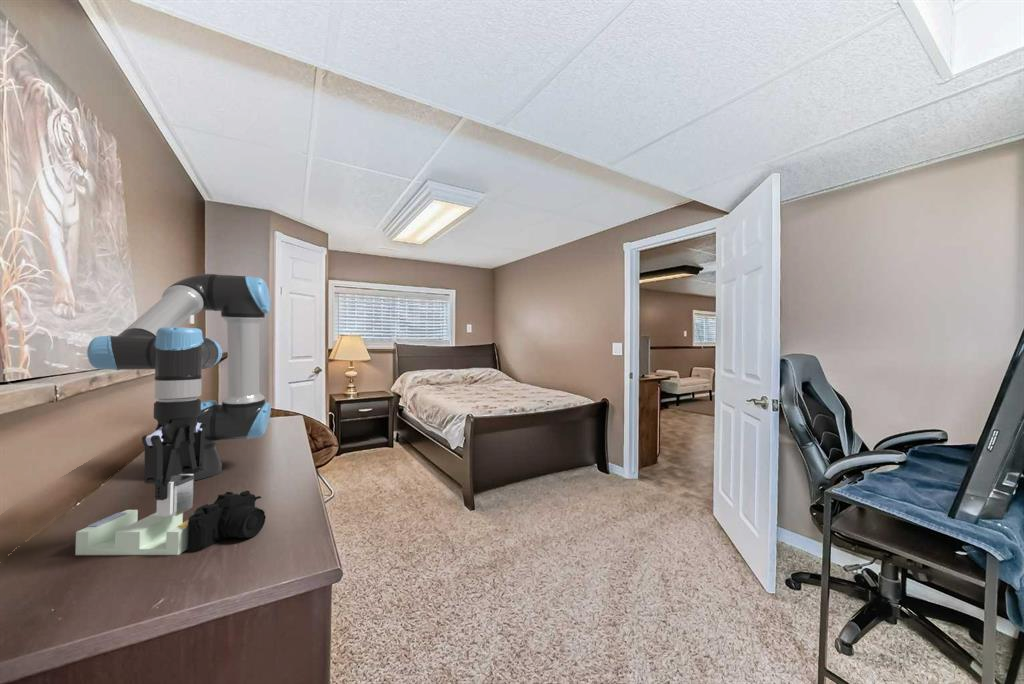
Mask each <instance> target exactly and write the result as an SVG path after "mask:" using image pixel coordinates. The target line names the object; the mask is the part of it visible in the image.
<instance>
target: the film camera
mask: <svg viewBox="0 0 1024 684" xmlns="http://www.w3.org/2000/svg"><path fill="white" fill-rule="evenodd" d="M257 499H258V500H260V499H262V496H260V495H258V496H256V495H255V494H253V493H251V491H249V490H245V491H240V493H234V492H233V491H226V492H225V493H224V494H218V495H217V498H216V500H215V501H214V502H213V503H211V504H208V503H206V504H204V505H201V506H199V507H197V508H196V510H194V513H193V514H192V515H191V516H189V517H188V520H189V521H188V546H187V550H186V551H187V552H188V553H198V552H201V551H203V550H205V549H207V548H209V547H211V546H213V545H215V544H217V543H219V542H220V541H222V540H225V539H233V538H240V539H241V538H242V539H246V538H254V537H255V536H256V535H258V534H259V533H260V532H261V530H262V529H263V527H264V525H265V522H266V514H265V513H266V512H265V510H263V509H262V508H259V507H258V506H257V507H256V501H257Z"/></svg>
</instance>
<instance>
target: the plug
mask: <svg viewBox="0 0 1024 684" xmlns="http://www.w3.org/2000/svg"><path fill="white" fill-rule="evenodd" d="M193 479H194V475H174V476H172V477H171V479H170V482H174V497H173V513H172V514H170V515H157V516H177V515H179V514H181V513H183V514H184V513H185V512H187V511H189V510H191V509H193V503H194V486H193Z"/></svg>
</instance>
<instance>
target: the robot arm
mask: <svg viewBox="0 0 1024 684" xmlns="http://www.w3.org/2000/svg"><path fill="white" fill-rule="evenodd" d="M271 303H272V302H271V295H270V290H269V287H268V285H267V283H266V281H265V279H262V278H261V277H257V276H256V277H255V276H248V275H247V276H246V275H232V274H231V275H228V274H215V273H201V274H195V275H191V276H188V277H185V278H183V279H181V280H178V281H176V282H175V283H173V284H171V285H170V286H168V287H167V288H166V289H165V290H164V291H163V293H162V295H161V299H160V300H158V301H157V302H156V303H155V304H153V305H152V306H151V307H150V308H148V310H147V311H145V312H144V313H142V315H141V316H139V317H138V318H136V319H135V321H133V323H131V324H130V325H128V327H127V328H125V329H124V330H122V332H120V333H119V334H118V335H115V336H114V335H112V334H111V335H100V336H96V337H94V338H93V339H92V340H91V341H90V342H89V344H88V346H87V352H86V354H87V355H86V356H87V359H88V361H89V364H90V365H91V366H92V367H93V368H95V369H99V370H116V371H122V370H123V371H124V370H125V371H126V370H128V371H130V370H154V399H156V401H155V402H154V403H153V419H154V420H156V422H157V424H156V427H155V430H154V432H152V433H151V434H150V435H146V434H145V435H143V436H142V437H141V442H142V445H143V447H144V484H146V485H154V486H155V488H154V489H155V490H154V498H155V501H156V511H155V513H156V515H170V514H172V513H173V497H174V482H170V479H171V477H172V476H174V475H194V479H193V487H194V486H195V481H198V480H202V479H206V478H210V477H212V476H213V477H214V476H215V475H218V474H220V473H221V472H222V467H223V463H222V461H221V459H220V456H219V453H218V451H217V448H216V441H229V440H245V439H246V440H249V439H257V438H260V437H263V436H264V435H265V434H266V431H267V429H268V426H269V423H270V422H269V421H270V417H271V412H272V408H271V407H272V406H271V403H270V402H268V401H267V402H266V401H265V400H266V397H265V395H263V394H262V393H260V323H261V322H262V321H263V320H264V319H265V317H266V315H265V314H269V313H270V312H271V308H272V307H271ZM201 311H202V312H203V311H214V312H220V313H221V314H220V318H222V319H223V321H226V323H227V324H226V325H227V326H226V327H227V328H226V331H227V332H226V333H227V334H226V335H227V336H226V338H227V345H226V349H227V395H226V396H225V397H224V398H223V399H222V400H221V401H222V402H221V403H222V404H218V402H217V400H216V399H215V400H214V399H213V400H212V399H210V400H201V399H200V397H201V396H202V384H203V383H202V378H203V377H202V374H203V373H202V370H205V369H206V370H207V369H208V368H210V367H213V366H215V365H216V364H218V363H219V362H220V360H221V359H222V358H223V350H222V347H221V345H220V344H219V343H218V342H217V341H216V340H213V339H210V338H207V337H204V336H203V331H202V329H200V328H196V327H181V326H182V325H183V324H184V323H185V322H186V321H187V320H188V319H189V318H190V317H191V316H194V315H197V314H198V313H200V312H201Z"/></svg>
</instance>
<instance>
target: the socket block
mask: <svg viewBox="0 0 1024 684" xmlns="http://www.w3.org/2000/svg"><path fill="white" fill-rule="evenodd" d="M138 512H139V510H138V509H126V510H124V511H121V512H116V513H113V514H112V515H109V516H107V517H104V518H103V519H100V520H97V521H95V522H93V523H91V524H88V525H87V527H84V528H82V529H80V530H79V529H78V530H77V531H76V532H75V556H179V555H181V554H182V553H183V552H185V551H188V550H187V546H188V521H189V519H187V520H186V521H184V522H183V517H184V512H183V513H181V514H179V515H177V516H157V515H156V512H154V513H152V514H149V515H148V516H146V517H143V518H141V519H140V520H138V514H139V513H138Z"/></svg>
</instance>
